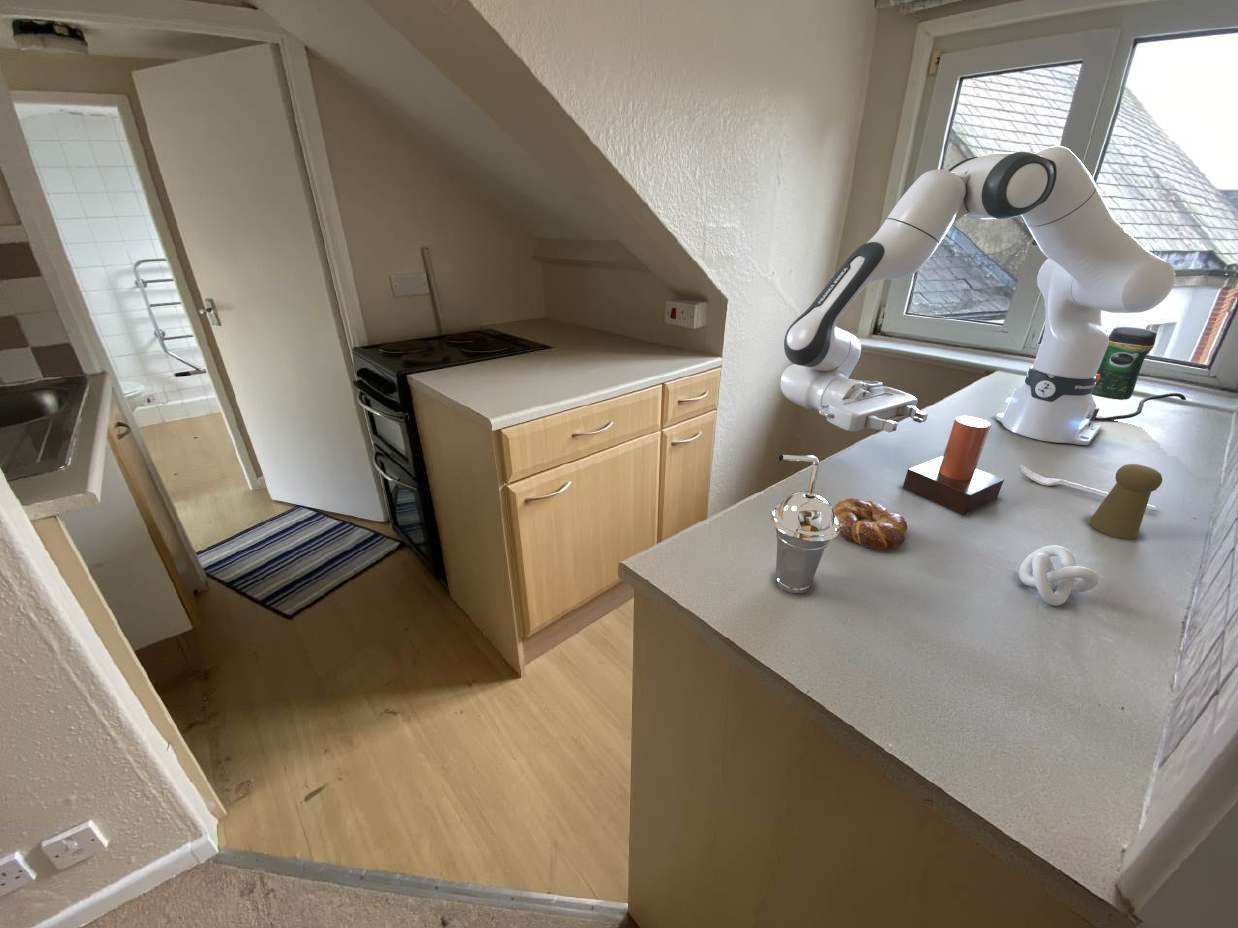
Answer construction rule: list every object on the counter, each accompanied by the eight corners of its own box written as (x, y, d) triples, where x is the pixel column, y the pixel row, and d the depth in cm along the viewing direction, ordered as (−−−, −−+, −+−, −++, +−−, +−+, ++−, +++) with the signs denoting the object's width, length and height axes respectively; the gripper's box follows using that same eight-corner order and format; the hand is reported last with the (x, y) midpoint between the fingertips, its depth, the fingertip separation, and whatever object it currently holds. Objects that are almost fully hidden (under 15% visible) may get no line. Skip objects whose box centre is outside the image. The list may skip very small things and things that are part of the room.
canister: (948, 465, 97) (965, 414, 92) (978, 476, 93) (997, 423, 88) (932, 471, 94) (949, 419, 90) (962, 483, 90) (980, 429, 86)
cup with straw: (830, 607, 68) (864, 469, 59) (758, 598, 69) (781, 462, 60) (820, 567, 75) (848, 439, 67) (755, 560, 77) (775, 433, 68)
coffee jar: (1131, 396, 146) (1162, 328, 137) (1127, 403, 141) (1160, 333, 132) (1086, 388, 152) (1114, 323, 144) (1082, 394, 147) (1110, 327, 139)
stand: (936, 474, 102) (942, 455, 100) (997, 499, 94) (1004, 479, 92) (902, 488, 97) (907, 468, 95) (963, 515, 89) (970, 495, 87)
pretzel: (811, 519, 87) (815, 499, 85) (861, 506, 91) (865, 487, 89) (868, 560, 77) (873, 538, 76) (921, 543, 81) (927, 523, 79)
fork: (1155, 515, 89) (1160, 505, 89) (1015, 477, 101) (1018, 468, 101) (1155, 508, 92) (1160, 498, 91) (1018, 471, 104) (1021, 463, 103)
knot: (1067, 621, 66) (1086, 584, 64) (998, 586, 72) (1013, 551, 70) (1092, 600, 70) (1111, 564, 67) (1025, 568, 76) (1040, 534, 73)
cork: (1146, 540, 83) (1181, 479, 78) (1102, 536, 84) (1133, 474, 79) (1122, 520, 88) (1152, 461, 83) (1081, 516, 89) (1108, 457, 84)
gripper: (815, 394, 103) (879, 417, 92) (881, 379, 113) (945, 398, 102) (810, 424, 106) (871, 450, 95) (874, 407, 115) (936, 428, 105)
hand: (910, 423), depth 99 cm, fingers open, 8 cm apart
